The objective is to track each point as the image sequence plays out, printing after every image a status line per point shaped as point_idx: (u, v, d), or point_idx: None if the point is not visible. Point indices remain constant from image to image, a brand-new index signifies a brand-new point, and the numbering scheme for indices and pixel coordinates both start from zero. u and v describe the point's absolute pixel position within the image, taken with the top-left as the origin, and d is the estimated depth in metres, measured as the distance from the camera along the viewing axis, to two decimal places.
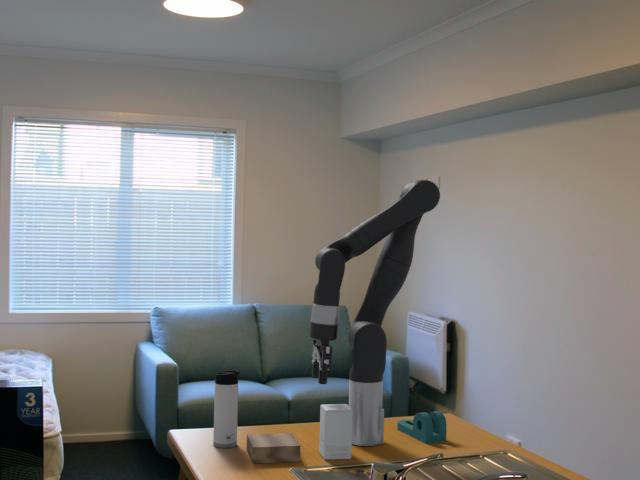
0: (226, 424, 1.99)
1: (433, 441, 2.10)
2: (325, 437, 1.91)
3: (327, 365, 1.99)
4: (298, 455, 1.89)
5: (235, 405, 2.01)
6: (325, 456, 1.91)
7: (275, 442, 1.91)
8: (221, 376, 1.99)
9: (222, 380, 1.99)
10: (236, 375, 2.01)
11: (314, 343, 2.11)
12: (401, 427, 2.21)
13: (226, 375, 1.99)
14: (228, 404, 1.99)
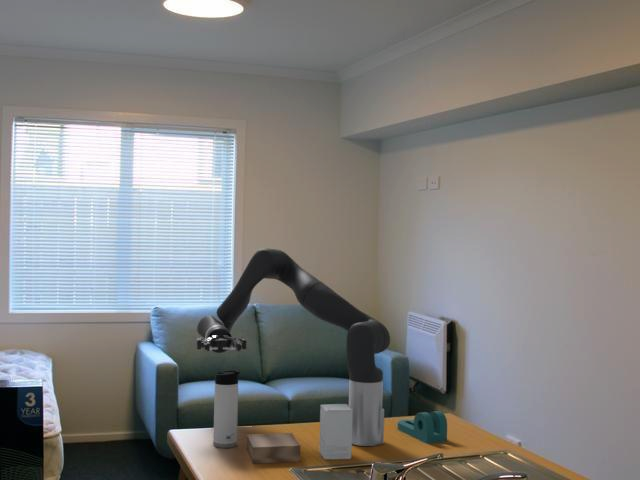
0: (226, 424, 1.99)
1: (434, 441, 2.10)
2: (325, 437, 1.91)
3: None
4: (298, 455, 1.89)
5: (235, 405, 2.01)
6: (325, 456, 1.91)
7: (275, 442, 1.91)
8: (221, 376, 1.99)
9: (222, 380, 1.99)
10: (236, 375, 2.01)
11: None
12: (401, 427, 2.21)
13: (226, 375, 1.99)
14: (228, 404, 1.99)
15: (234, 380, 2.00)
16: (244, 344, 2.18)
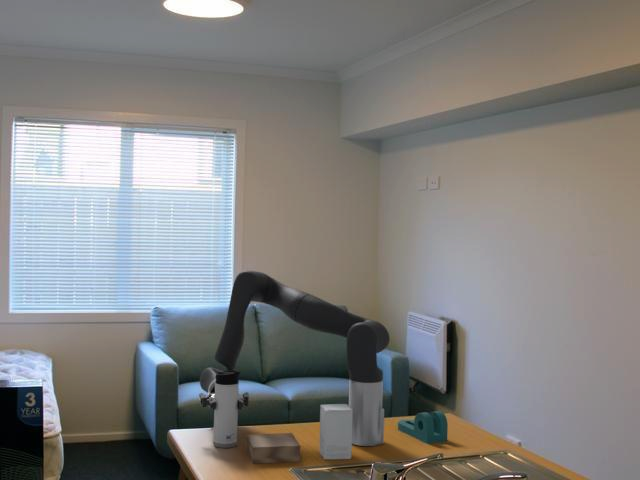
0: (226, 424, 1.99)
1: (434, 441, 2.10)
2: (325, 437, 1.91)
3: None
4: (298, 455, 1.89)
5: (235, 405, 2.01)
6: (325, 456, 1.91)
7: (275, 442, 1.91)
8: (221, 376, 1.99)
9: (222, 380, 1.99)
10: (236, 375, 2.01)
11: None
12: (401, 427, 2.21)
13: (226, 375, 1.99)
14: (229, 404, 1.99)
15: (234, 380, 2.00)
16: (245, 401, 2.05)
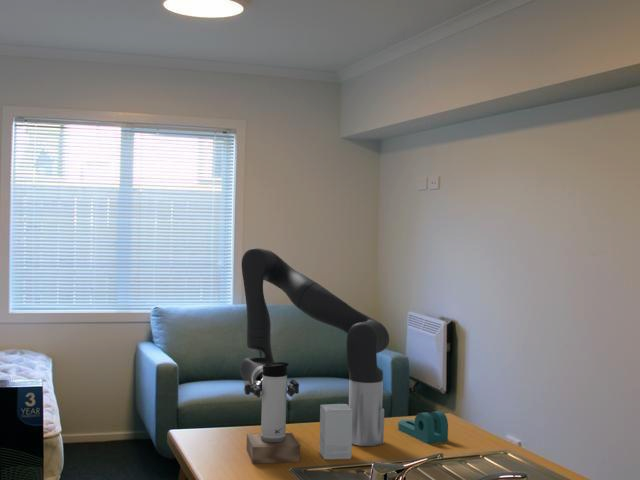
0: (274, 418, 1.91)
1: (435, 441, 2.09)
2: (325, 437, 1.91)
3: None
4: (298, 455, 1.89)
5: (284, 398, 1.92)
6: (325, 456, 1.91)
7: None
8: (270, 368, 1.91)
9: (270, 372, 1.91)
10: (285, 367, 1.93)
11: None
12: (402, 427, 2.20)
13: (275, 367, 1.91)
14: (277, 397, 1.91)
15: (283, 372, 1.92)
16: (296, 388, 1.97)
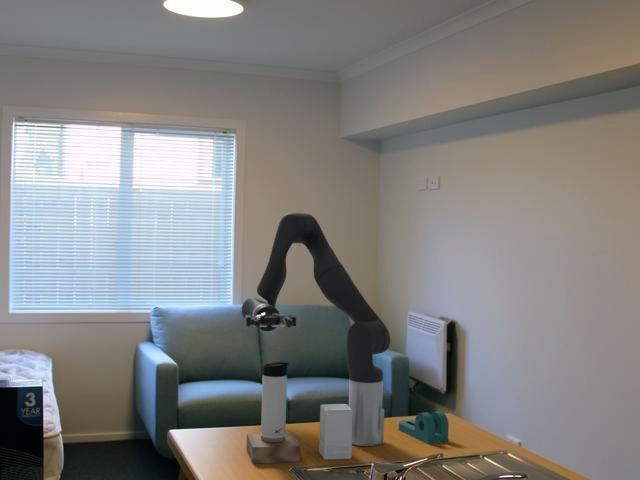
0: (274, 418, 1.91)
1: (435, 441, 2.09)
2: (325, 437, 1.91)
3: None
4: (298, 455, 1.89)
5: (284, 398, 1.92)
6: (325, 456, 1.91)
7: None
8: (270, 368, 1.91)
9: (270, 372, 1.91)
10: (285, 367, 1.93)
11: None
12: (402, 427, 2.20)
13: (275, 366, 1.91)
14: (277, 397, 1.91)
15: (283, 372, 1.92)
16: (294, 321, 2.14)
